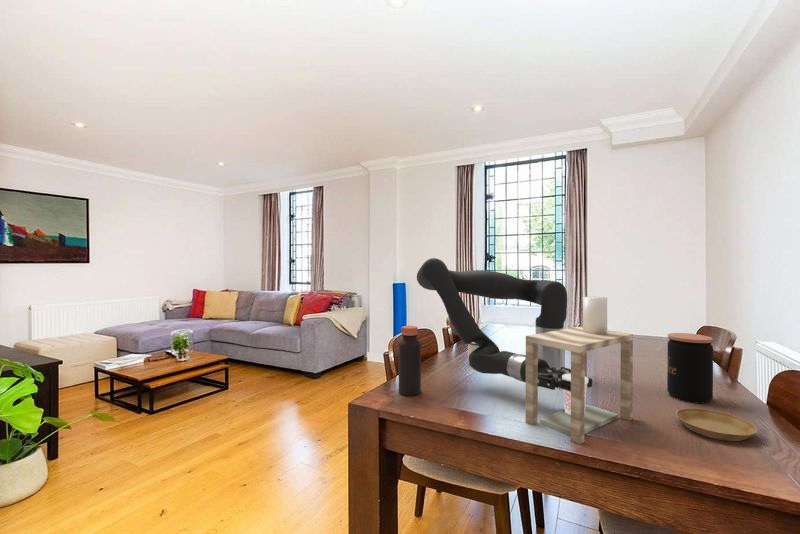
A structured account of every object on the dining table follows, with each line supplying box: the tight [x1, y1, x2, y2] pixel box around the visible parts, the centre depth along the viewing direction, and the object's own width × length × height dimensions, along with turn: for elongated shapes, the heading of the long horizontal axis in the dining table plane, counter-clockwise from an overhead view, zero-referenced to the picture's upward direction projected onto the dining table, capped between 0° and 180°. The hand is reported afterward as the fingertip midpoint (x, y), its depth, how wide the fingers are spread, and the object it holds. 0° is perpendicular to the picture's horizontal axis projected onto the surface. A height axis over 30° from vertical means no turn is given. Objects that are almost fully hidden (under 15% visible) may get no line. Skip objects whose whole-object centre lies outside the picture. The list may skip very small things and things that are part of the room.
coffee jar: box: [666, 332, 714, 404], centre depth 111 cm, size 11×11×18 cm
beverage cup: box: [562, 374, 589, 415], centre depth 96 cm, size 6×6×14 cm
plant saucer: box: [675, 407, 758, 442], centre depth 90 cm, size 15×15×3 cm
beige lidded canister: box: [467, 342, 479, 366], centre depth 150 cm, size 12×9×12 cm
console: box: [525, 326, 634, 445], centre depth 95 cm, size 24×14×22 cm, turn 124°
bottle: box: [398, 325, 422, 397], centre depth 116 cm, size 7×7×20 cm
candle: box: [582, 296, 608, 334], centre depth 99 cm, size 6×6×9 cm
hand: (584, 385), depth 94 cm, fingers closed on beverage cup, 6 cm apart
